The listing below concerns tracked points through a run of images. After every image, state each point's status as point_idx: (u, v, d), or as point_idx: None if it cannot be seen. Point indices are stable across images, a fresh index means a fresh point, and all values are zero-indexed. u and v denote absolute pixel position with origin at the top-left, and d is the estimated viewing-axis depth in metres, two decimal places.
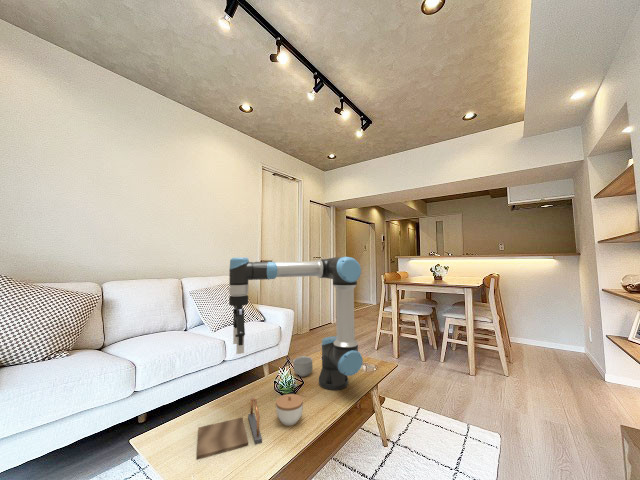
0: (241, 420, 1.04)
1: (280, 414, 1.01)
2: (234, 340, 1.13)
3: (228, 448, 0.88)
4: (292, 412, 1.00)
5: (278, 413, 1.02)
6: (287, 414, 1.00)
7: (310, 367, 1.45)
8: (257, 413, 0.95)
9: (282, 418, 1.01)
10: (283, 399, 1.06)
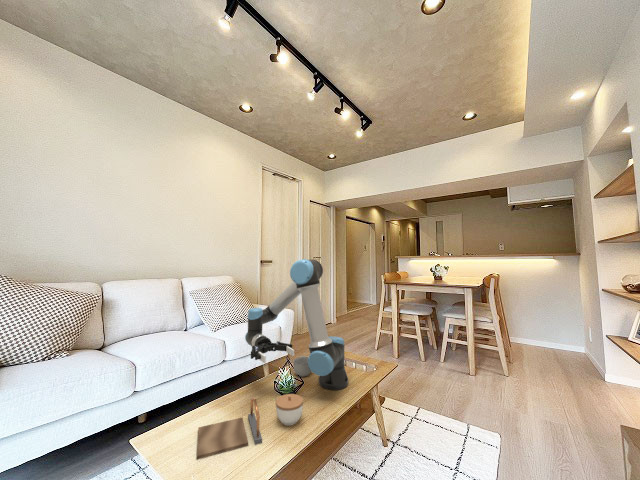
0: (241, 420, 1.04)
1: (280, 414, 1.01)
2: (291, 354, 1.19)
3: (228, 448, 0.88)
4: (292, 412, 1.00)
5: (278, 413, 1.02)
6: (287, 414, 1.00)
7: None
8: (257, 413, 0.95)
9: (282, 418, 1.01)
10: (283, 399, 1.06)
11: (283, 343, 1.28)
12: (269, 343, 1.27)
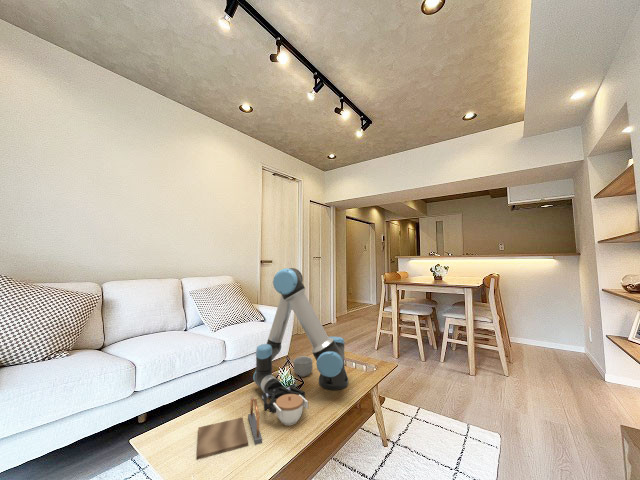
0: (241, 420, 1.04)
1: None
2: (304, 406, 1.06)
3: (228, 448, 0.88)
4: (292, 412, 1.00)
5: None
6: (287, 414, 1.00)
7: (310, 367, 1.45)
8: (257, 413, 0.95)
9: (282, 418, 1.01)
10: (283, 399, 1.06)
11: (295, 389, 1.16)
12: (280, 388, 1.15)
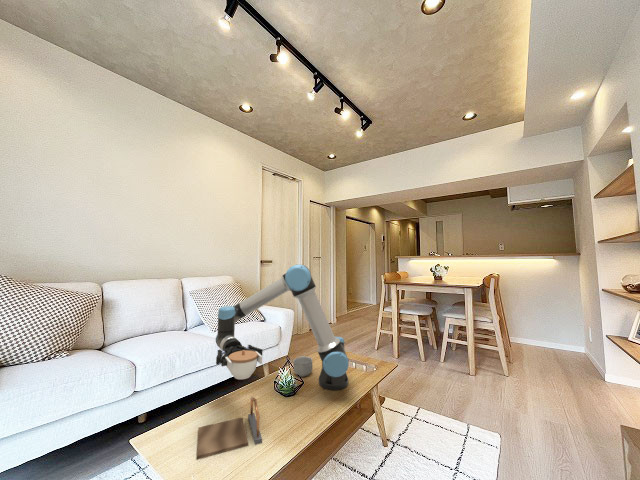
0: (241, 420, 1.04)
1: None
2: (258, 361, 1.02)
3: (228, 448, 0.88)
4: (243, 365, 0.96)
5: None
6: (238, 367, 0.96)
7: (310, 367, 1.45)
8: (257, 413, 0.95)
9: (233, 371, 0.97)
10: (237, 354, 1.02)
11: (253, 347, 1.12)
12: (238, 346, 1.11)
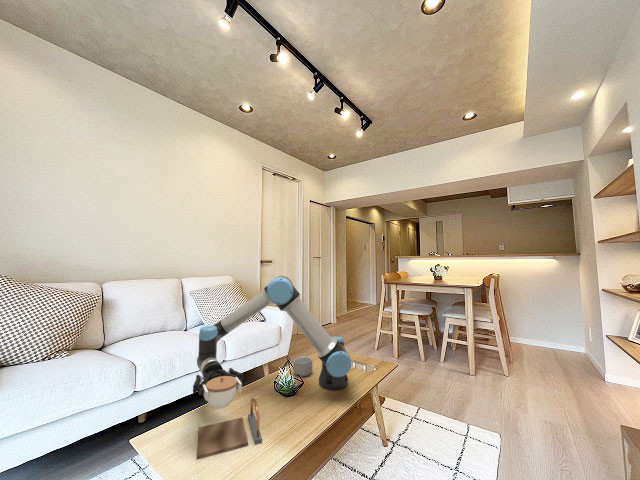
0: (241, 420, 1.04)
1: (208, 396, 0.92)
2: (238, 388, 0.97)
3: (228, 448, 0.88)
4: (221, 394, 0.92)
5: None
6: (215, 396, 0.91)
7: (310, 367, 1.45)
8: (257, 413, 0.95)
9: (210, 400, 0.92)
10: (215, 381, 0.97)
11: (234, 371, 1.07)
12: (218, 371, 1.06)
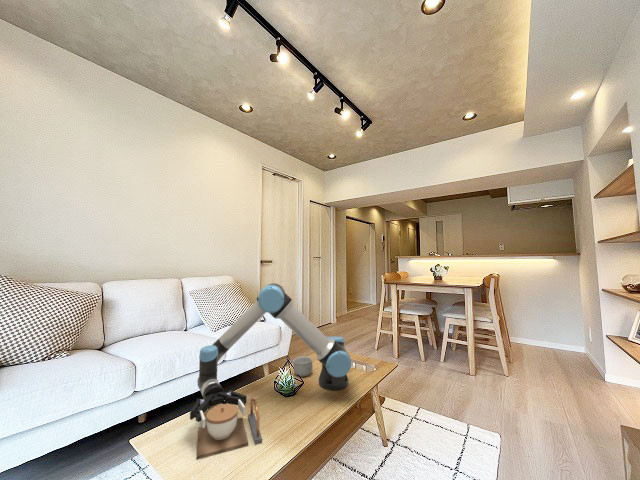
0: (241, 420, 1.04)
1: (209, 428, 0.91)
2: (241, 412, 0.98)
3: (228, 448, 0.88)
4: (221, 425, 0.91)
5: (207, 426, 0.92)
6: (216, 428, 0.90)
7: (310, 367, 1.45)
8: (257, 413, 0.95)
9: (211, 432, 0.91)
10: (216, 410, 0.96)
11: (236, 393, 1.07)
12: (219, 394, 1.06)
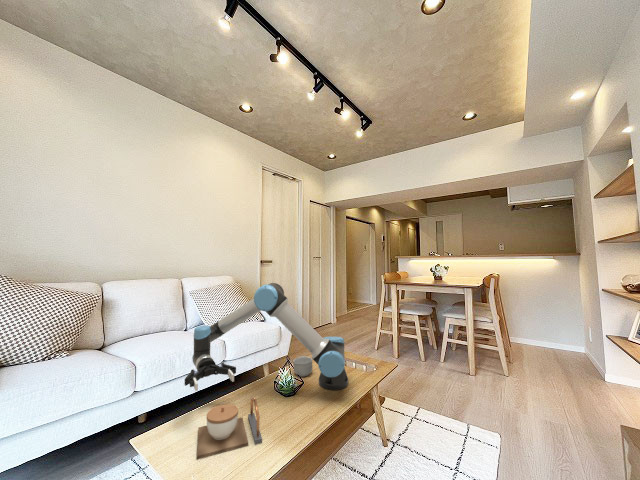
0: (241, 420, 1.04)
1: (209, 427, 0.91)
2: (231, 379, 1.09)
3: (228, 448, 0.88)
4: (222, 425, 0.91)
5: (207, 426, 0.92)
6: (216, 428, 0.90)
7: (310, 367, 1.45)
8: (257, 413, 0.95)
9: (211, 432, 0.91)
10: (216, 410, 0.96)
11: (227, 365, 1.18)
12: (211, 366, 1.17)
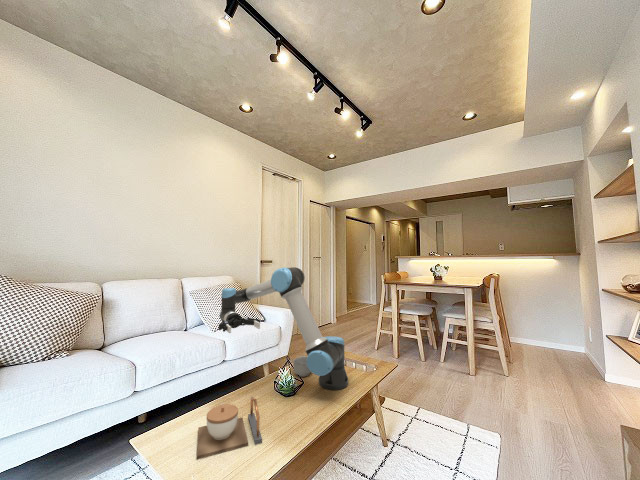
0: (241, 420, 1.04)
1: (209, 427, 0.91)
2: (257, 327, 1.28)
3: (228, 448, 0.88)
4: (222, 425, 0.91)
5: (207, 426, 0.92)
6: (216, 428, 0.90)
7: None
8: (257, 413, 0.95)
9: (211, 432, 0.91)
10: (216, 410, 0.96)
11: (252, 318, 1.38)
12: (239, 318, 1.36)
